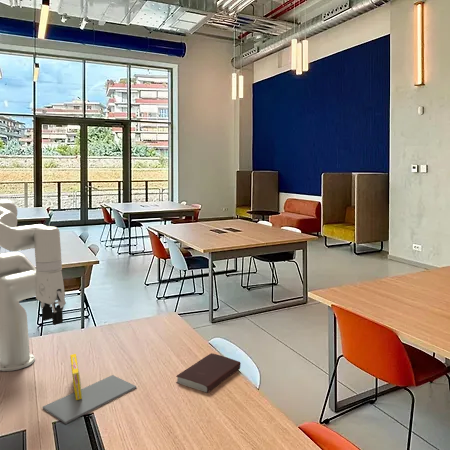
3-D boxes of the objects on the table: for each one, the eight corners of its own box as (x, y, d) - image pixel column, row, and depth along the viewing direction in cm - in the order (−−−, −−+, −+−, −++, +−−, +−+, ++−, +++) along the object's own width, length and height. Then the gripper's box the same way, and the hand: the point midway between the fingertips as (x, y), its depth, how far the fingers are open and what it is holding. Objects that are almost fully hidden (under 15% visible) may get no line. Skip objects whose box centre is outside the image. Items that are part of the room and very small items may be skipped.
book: (241, 369, 146) (241, 360, 146) (207, 395, 130) (207, 384, 130) (210, 361, 153) (210, 352, 153) (175, 384, 137) (175, 374, 137)
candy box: (72, 379, 140) (70, 354, 140) (79, 377, 141) (77, 353, 140) (74, 400, 125) (72, 373, 125) (82, 399, 126) (79, 371, 125)
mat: (42, 408, 123) (42, 406, 123) (112, 376, 142) (112, 375, 142) (65, 423, 116) (65, 421, 116) (136, 388, 134) (136, 386, 134)
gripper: (24, 264, 139) (28, 319, 141) (52, 272, 128) (56, 331, 130) (46, 260, 144) (49, 313, 147) (74, 267, 134) (78, 324, 136)
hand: (52, 321), depth 138 cm, fingers open, 5 cm apart
